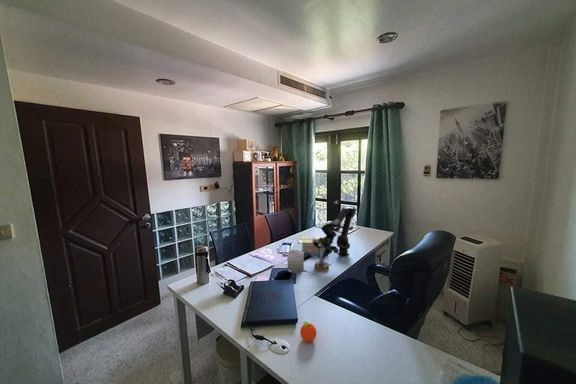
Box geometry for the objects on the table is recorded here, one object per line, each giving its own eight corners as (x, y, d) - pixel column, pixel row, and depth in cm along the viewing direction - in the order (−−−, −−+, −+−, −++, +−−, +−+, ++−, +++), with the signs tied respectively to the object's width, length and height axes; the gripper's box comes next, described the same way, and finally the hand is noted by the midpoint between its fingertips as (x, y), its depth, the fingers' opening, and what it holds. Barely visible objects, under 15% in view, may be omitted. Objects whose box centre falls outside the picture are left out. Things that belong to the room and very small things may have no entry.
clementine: (296, 335, 101) (295, 321, 100) (309, 329, 104) (308, 315, 103) (306, 348, 94) (305, 333, 93) (319, 341, 97) (319, 326, 96)
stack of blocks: (302, 253, 187) (301, 239, 186) (302, 250, 194) (302, 236, 192) (328, 253, 185) (328, 239, 184) (328, 250, 192) (327, 236, 190)
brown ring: (322, 263, 168) (322, 259, 167) (331, 269, 160) (331, 264, 159) (312, 267, 163) (312, 263, 162) (320, 272, 155) (320, 268, 154)
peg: (323, 264, 163) (322, 248, 161) (324, 266, 160) (324, 249, 158) (319, 265, 162) (318, 248, 160) (320, 267, 159) (320, 250, 157)
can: (300, 264, 168) (300, 249, 166) (306, 271, 157) (306, 255, 155) (285, 267, 164) (285, 251, 163) (290, 274, 154) (290, 257, 152)
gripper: (314, 230, 167) (304, 249, 161) (336, 235, 154) (327, 256, 148) (320, 237, 174) (311, 256, 167) (342, 243, 161) (333, 263, 155)
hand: (320, 257), depth 159 cm, fingers closed on peg, 3 cm apart
